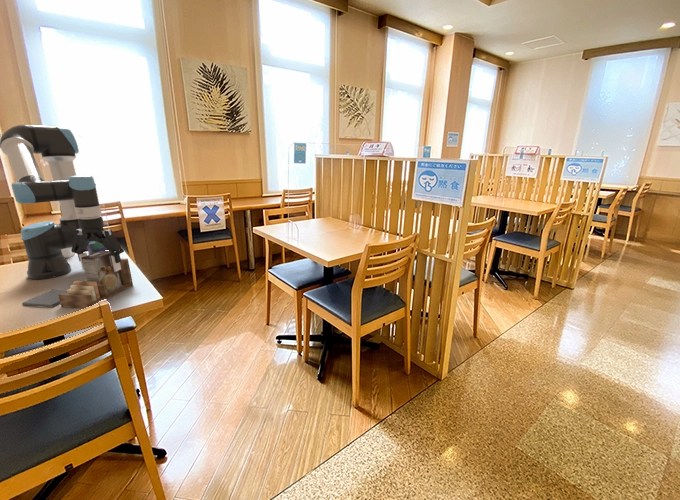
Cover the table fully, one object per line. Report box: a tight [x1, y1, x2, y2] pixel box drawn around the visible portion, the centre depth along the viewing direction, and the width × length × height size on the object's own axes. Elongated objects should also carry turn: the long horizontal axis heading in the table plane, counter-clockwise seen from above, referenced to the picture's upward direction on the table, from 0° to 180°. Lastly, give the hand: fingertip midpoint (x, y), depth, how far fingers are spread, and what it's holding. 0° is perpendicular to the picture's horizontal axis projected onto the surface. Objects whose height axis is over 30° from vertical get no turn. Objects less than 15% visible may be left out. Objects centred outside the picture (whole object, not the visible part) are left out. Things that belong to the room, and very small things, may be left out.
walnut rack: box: [58, 257, 134, 309], centre depth 127 cm, size 12×21×12 cm, turn 174°
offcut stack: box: [66, 280, 100, 302], centre depth 121 cm, size 8×4×8 cm, turn 84°
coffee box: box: [81, 251, 122, 294], centre depth 130 cm, size 9×6×16 cm
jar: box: [61, 247, 75, 259], centre depth 170 cm, size 9×8×12 cm
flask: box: [86, 242, 107, 255], centre depth 176 cm, size 9×3×11 cm, turn 141°
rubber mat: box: [21, 288, 68, 308], centre depth 125 cm, size 12×12×1 cm
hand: (102, 269), depth 129 cm, fingers open, 13 cm apart
